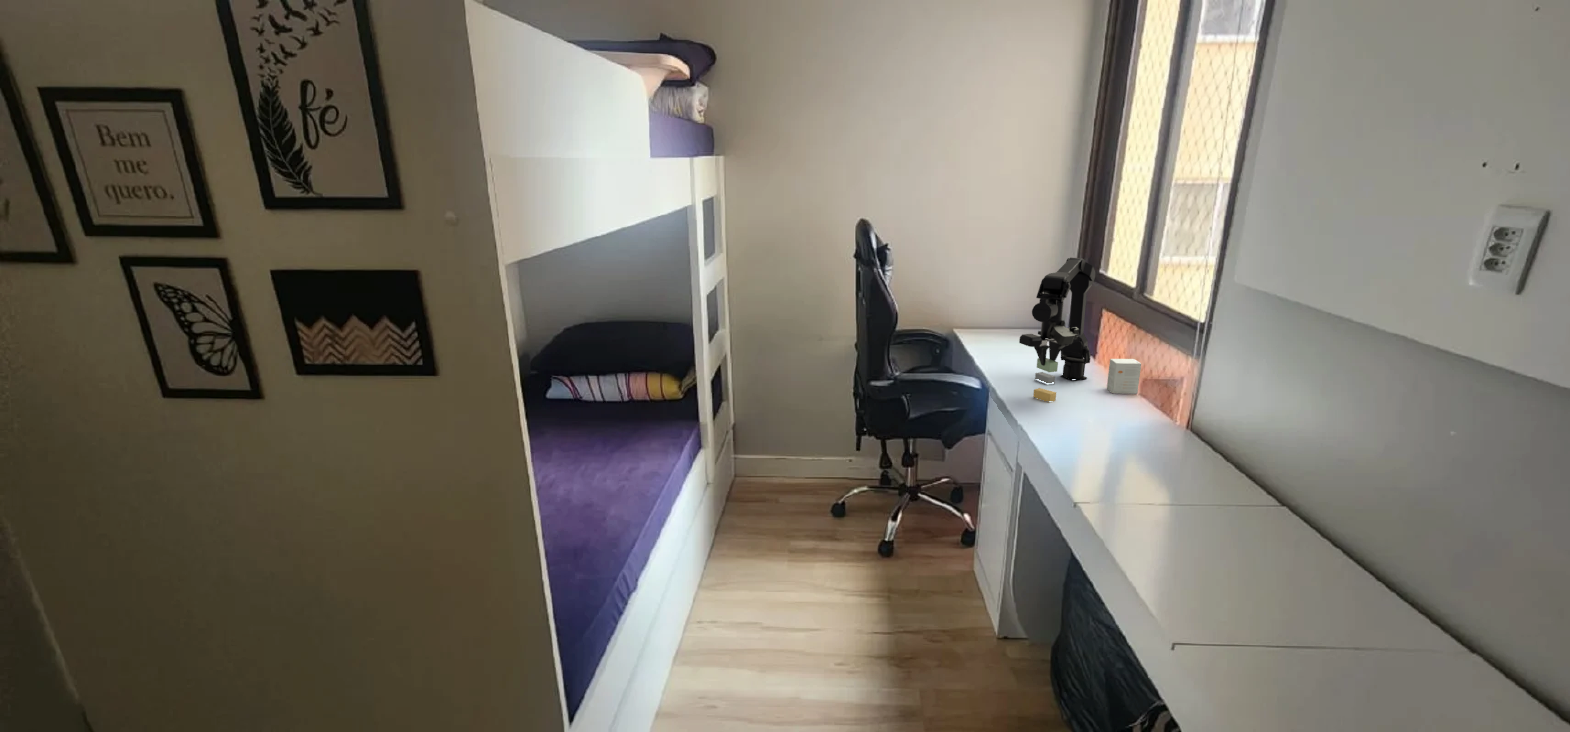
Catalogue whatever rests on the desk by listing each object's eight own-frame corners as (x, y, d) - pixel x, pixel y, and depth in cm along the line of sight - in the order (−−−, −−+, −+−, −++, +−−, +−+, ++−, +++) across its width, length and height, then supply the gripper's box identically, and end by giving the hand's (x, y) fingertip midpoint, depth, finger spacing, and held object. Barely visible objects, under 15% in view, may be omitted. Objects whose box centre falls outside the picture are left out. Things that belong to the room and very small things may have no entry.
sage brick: (1036, 367, 216) (1037, 358, 215) (1044, 366, 217) (1045, 357, 216) (1049, 372, 210) (1050, 363, 210) (1057, 371, 211) (1058, 362, 210)
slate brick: (1034, 381, 236) (1035, 373, 235) (1041, 380, 237) (1042, 371, 236) (1047, 385, 230) (1048, 377, 229) (1054, 384, 231) (1055, 376, 231)
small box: (1131, 389, 225) (1135, 358, 222) (1137, 394, 220) (1142, 363, 217) (1105, 388, 226) (1109, 358, 223) (1112, 393, 221) (1116, 362, 218)
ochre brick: (1033, 398, 218) (1034, 389, 217) (1038, 396, 219) (1039, 387, 219) (1049, 403, 213) (1050, 394, 212) (1055, 401, 215) (1056, 392, 214)
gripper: (1044, 323, 199) (1039, 374, 203) (1095, 319, 204) (1090, 368, 208) (1020, 316, 209) (1016, 365, 213) (1070, 312, 214) (1065, 359, 219)
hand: (1047, 364), depth 213 cm, fingers closed on sage brick, 3 cm apart
